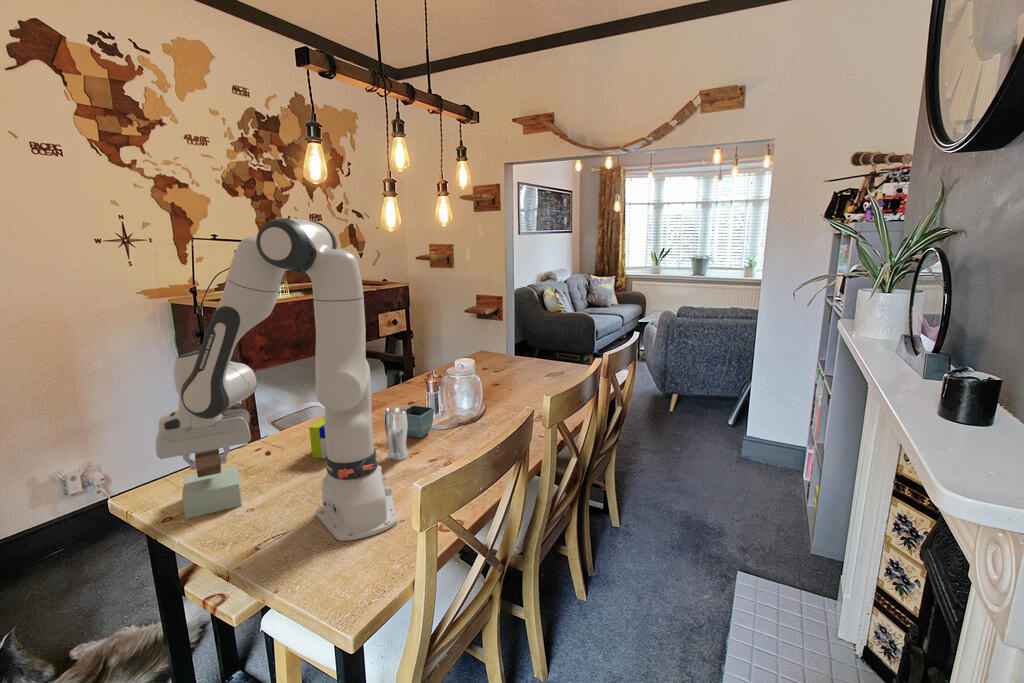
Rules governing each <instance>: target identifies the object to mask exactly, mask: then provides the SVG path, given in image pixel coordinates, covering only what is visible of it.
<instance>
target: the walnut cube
mask: <svg viewBox="0 0 1024 683" xmlns="http://www.w3.org/2000/svg"><path fill="white" fill-rule="evenodd" d="M219 456H221V455H220V448H218V449H213V450H208V451H202V452H197V453H195V457H194V461H195V462H196V469H195V470H196V474H197V476H198V478H199V477H204V476H209V475H214V474H218V473H221V469H222V464H220V459H219Z"/></svg>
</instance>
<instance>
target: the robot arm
mask: <svg viewBox="0 0 1024 683" xmlns="http://www.w3.org/2000/svg"><path fill="white" fill-rule="evenodd" d="M337 247H338V242H337V238H336V236H335V235H334V233H333V231H332V230H331V229H330V228H329V227H328V226H326V225H325V224H323V223H320V222H318V221H314V220H311V221H310V220H307V219H304V218H295V217H294V218H291V217H290V218H286V217H280V218H275V219H272V220H269V221H267V222H265V223H264V224H263V225H262V226H261V227H260V228H259V230H258V231H257V234H256V235H251V236H250V235H249V236H247V237H244V238H242V240H241V241H239V244H238V246H237V247H236V250H235V252H234V253H233V257H232V260H231V262H230V266H229V269H228V273H227V277H226V281H225V285H224V288H223V292H222V294H221V298H220V300H219V302H218V305H217V307H216V309H215V311H214V313H213V315H212V317H211V319H210V320H209V322H208V325H207V328H206V331H205V333H204V337H203V340H202V343H201V346H200V349H199V350H194V351H190V352H187V353H186V352H185V353H184V354H181V355H179V356H178V357H176V358H175V360H174V365H173V377H174V378H173V379H174V384H175V385H174V386H175V391H176V392H177V395H178V404H177V405H178V408H177V409H175V410H174V411H171V412H167V413H166V414H163V415H162V416H160V418H159V420H158V431H157V435H156V438H155V453H156V457H157V458H159V459H160V460H164V459H168V458H175V457H179V456H182V459H183V461H184V462H186V463H187V464H188V466H189V470H190V471H194V470H197V469H196V462H195V460H193V459H192V458H191V454H196V453H197V452H202V451H208V450H213V449H218V448H219V449H223V450H222V451H223V454H221V455H220V456H219V459H220V464H221V465H222V464H227V462H228V461H227V457H228V454H229V453H230V451H231V447H234V446H239V445H244V444H245V445H246V444H249V442H250V441H251V439H252V436H251V430H250V427H249V423H250V422H251V417H250V412H249V411H248V410H247V409H243V408H236V409H230V408H231V407H233V406H235V405H237V404H239V403H240V402H242V401H244V400H245V399H247V398H248V397H251V395H253V394H254V393H255V391H256V390H257V386H258V378H257V374H256V373H255V372H254V369H252V368H251V367H250V366H249V365H247V364H245V363H243V362H235V361H231V360H232V357H233V354H234V350H235V348H236V346H237V344H238V342H239V341H240V340H241V338H242V337H243V336H245V334H246V333H247V332H249V331H250V330H251V329H252V328H254V327H255V326H256V325H258V324H260V323H261V322H263V321H264V320H266V319H267V318H268V317H269V316H270V315H271V314H272V312H273V310H274V308H275V306H276V303H277V301H278V299H279V293H280V290H281V289H280V288H281V284H282V280H283V277H284V274H285V272H286V271H290V272H292V273H296V274H299V275H302V274H304V273H305V274H307V276H309V279H310V281H311V285H312V298H313V310H314V311H313V312H314V322H315V324H314V326H315V362H314V363H315V393H316V394H315V395H316V397H317V401H318V402H319V403H320V405H322V407H324V418H325V437H326V448H327V455H326V458H325V468H326V475H325V476H324V477H323V479H322V480H321V481H320V484H321V486H320V487H321V500H322V502H321V503H322V504H321V506H319V507H318V508H317V509H316V510H315V517H317V518H318V520H320V522H321V523H322V524H323V525H324V526H325V528H326V529H327V530H328V531H329V532H330V533H331V534H332V535H333V537H334V538H335V539H336V540H337V541H341V542H342V541H343V542H344V541H347V542H348V541H355V540H359V539H363V538H368V537H370V536H374V535H377V534H379V533H382V532H385V531H387V530H389V529H392V527H394V526H395V525H397V524H398V517H397V511H396V507H395V501H394V496H393V493H392V487H391V485H388V486H385V485H384V482H387V475H383V471H382V466H381V465H379V464H378V455H377V451H376V448H375V447H374V446H375V445H374V432H373V420H372V418H373V416H372V413H373V412H372V411H373V410H372V386H371V369H370V368H371V367H370V364H369V361H368V360H367V359H366V356H367V355H366V353H367V352H366V350H367V349H366V344H367V342H366V333H367V330H366V329H367V328H366V313H365V299H364V297H365V296H364V288H363V287H364V286H363V280H362V276H361V275H362V274H361V272H360V267H359V262H358V260H357V258H356V257H355V256H354V254H352V252H351V253H350V252H349V251H347V250H344V249H339V248H337Z"/></svg>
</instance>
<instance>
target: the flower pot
mask: <svg viewBox="0 0 1024 683" xmlns="http://www.w3.org/2000/svg"><path fill="white" fill-rule="evenodd" d="M405 409H406V413H407V420H408V431H407V437H411V438H417V439H421V438H423V437H424V436H425V435H427V434H428V433H429V432H430V430H431V428H432V425H433V422H434V413H435V412H434V410H435V408H434V407H432V406H431V407H430V406H423V405H414V404H413V405H410V406H409V407H407V408H405Z"/></svg>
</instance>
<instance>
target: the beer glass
mask: <svg viewBox="0 0 1024 683" xmlns="http://www.w3.org/2000/svg"><path fill="white" fill-rule="evenodd" d="M406 409H407V408H405V407H400V406H397V407H396V406H395V407H390V408H386V409H385V410H384V411H383V416H384V419H383V421H384V423H383V424H384V431H385V436H386V439H387V445H388V453H387V458H388V460H390V461H395V462H396V461H403V460H406V459H407V458H408V457H409V452H408V448H407V438H408V435H407V431H408V420H407V413H406Z"/></svg>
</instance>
